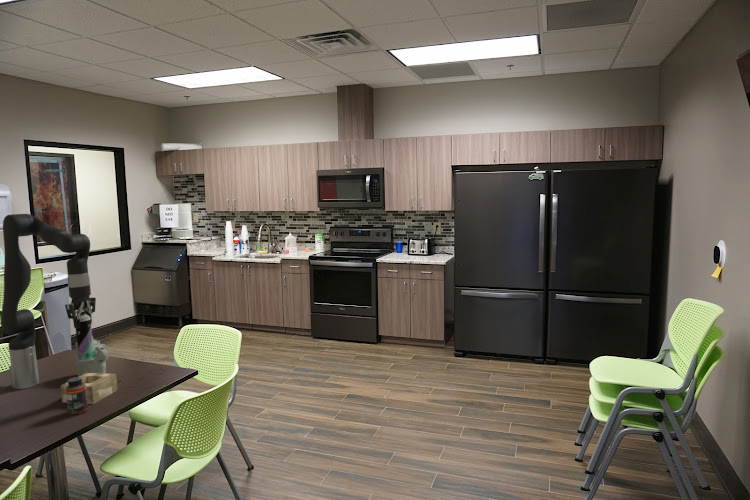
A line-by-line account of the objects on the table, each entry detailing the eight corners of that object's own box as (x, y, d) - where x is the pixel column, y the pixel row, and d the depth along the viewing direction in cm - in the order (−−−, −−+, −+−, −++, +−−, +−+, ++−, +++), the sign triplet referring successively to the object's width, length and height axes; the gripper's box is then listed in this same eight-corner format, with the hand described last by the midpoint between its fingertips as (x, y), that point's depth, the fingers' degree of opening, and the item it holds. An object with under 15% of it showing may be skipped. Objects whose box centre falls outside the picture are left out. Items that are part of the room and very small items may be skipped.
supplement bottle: (84, 406, 197) (81, 374, 195) (91, 410, 193) (88, 378, 191) (65, 412, 192) (61, 379, 190) (72, 417, 187) (68, 383, 186)
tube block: (62, 402, 201) (60, 385, 200) (87, 388, 215) (86, 372, 214) (93, 403, 199) (92, 386, 198) (117, 390, 213) (116, 373, 212)
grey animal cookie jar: (106, 380, 224) (102, 339, 222) (69, 384, 221) (64, 342, 219) (116, 368, 240) (113, 329, 238) (81, 371, 237) (77, 332, 235)
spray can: (78, 362, 201) (73, 313, 199) (79, 359, 206) (74, 310, 204) (94, 360, 204) (89, 311, 202) (94, 356, 209) (90, 309, 206)
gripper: (84, 281, 209) (88, 321, 211) (56, 288, 195) (61, 330, 197) (100, 281, 208) (104, 321, 210) (73, 288, 194) (78, 331, 196)
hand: (83, 325), depth 203 cm, fingers closed on spray can, 5 cm apart
